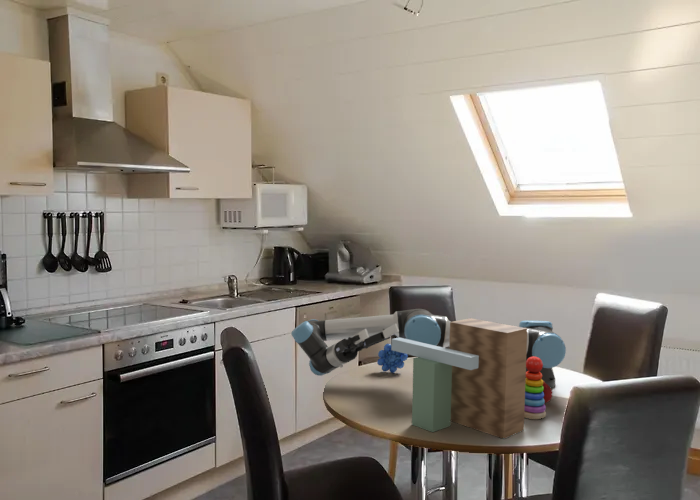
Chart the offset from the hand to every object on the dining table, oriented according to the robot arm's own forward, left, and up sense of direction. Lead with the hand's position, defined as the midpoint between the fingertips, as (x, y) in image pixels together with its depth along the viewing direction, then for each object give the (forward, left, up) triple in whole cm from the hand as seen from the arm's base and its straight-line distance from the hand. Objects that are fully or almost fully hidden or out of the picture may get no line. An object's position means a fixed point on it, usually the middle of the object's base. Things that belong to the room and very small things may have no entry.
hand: (382, 330), depth 202 cm
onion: (-53, -3, -25) cm, 59 cm away
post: (-13, +16, -25) cm, 32 cm away
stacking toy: (-46, +8, -25) cm, 53 cm away
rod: (-13, +16, -5) cm, 21 cm away
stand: (-29, +16, -25) cm, 42 cm away
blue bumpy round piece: (-8, -42, -25) cm, 50 cm away
